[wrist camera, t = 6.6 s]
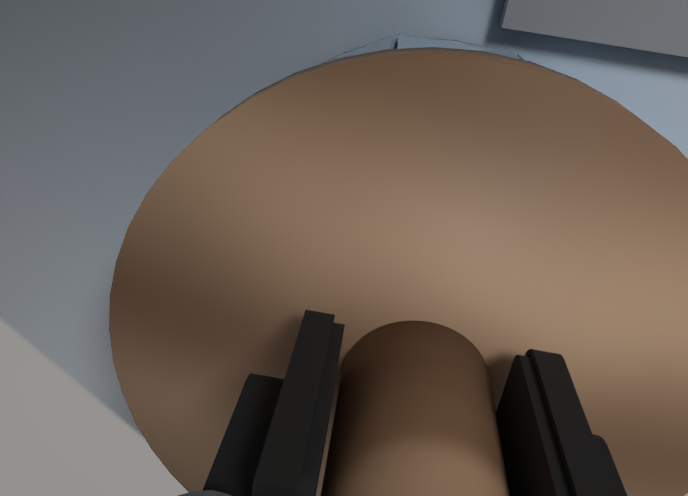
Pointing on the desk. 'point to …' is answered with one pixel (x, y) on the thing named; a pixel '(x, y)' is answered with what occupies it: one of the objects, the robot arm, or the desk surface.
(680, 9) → the mat
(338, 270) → the lid
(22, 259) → the desk surface
